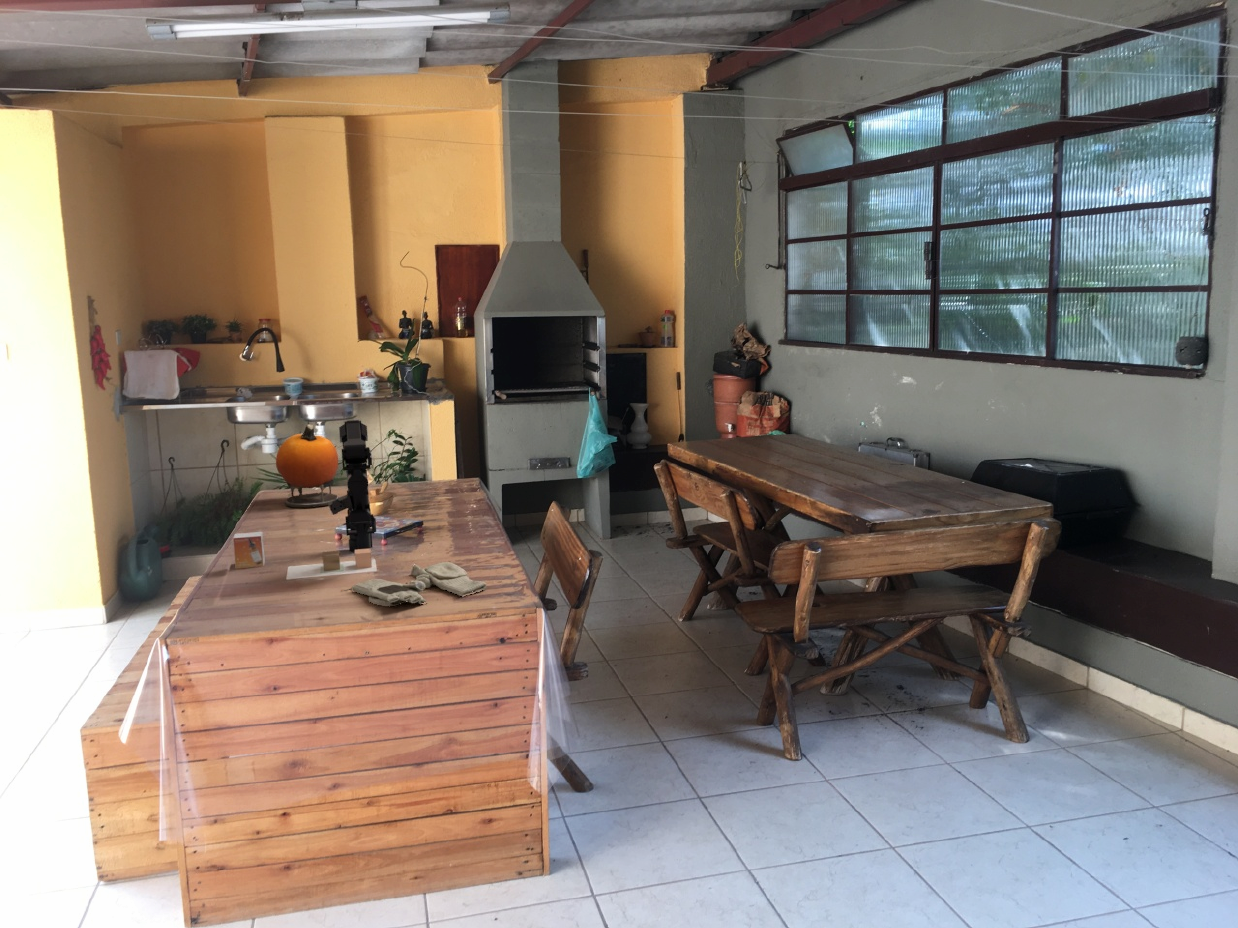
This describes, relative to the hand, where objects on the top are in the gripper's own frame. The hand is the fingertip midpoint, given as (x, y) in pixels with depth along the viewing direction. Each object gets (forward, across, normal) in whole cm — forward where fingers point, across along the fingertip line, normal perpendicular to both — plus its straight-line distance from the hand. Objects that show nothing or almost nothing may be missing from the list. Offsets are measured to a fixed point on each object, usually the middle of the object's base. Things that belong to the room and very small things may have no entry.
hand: (361, 538), depth 300 cm
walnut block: (+8, 0, -9) cm, 12 cm away
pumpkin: (+10, -96, -18) cm, 98 cm away
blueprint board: (+9, 0, -9) cm, 13 cm away
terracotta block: (+8, 0, 0) cm, 8 cm away
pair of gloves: (+10, +25, +15) cm, 31 cm away
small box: (+10, -12, -32) cm, 36 cm away
